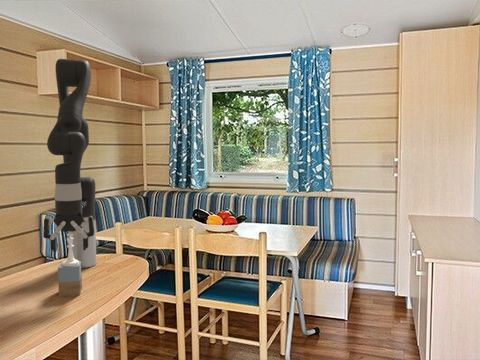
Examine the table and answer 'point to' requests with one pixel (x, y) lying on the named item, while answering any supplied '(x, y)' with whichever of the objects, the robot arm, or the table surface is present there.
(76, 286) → the walnut block
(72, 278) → the slate-blue block
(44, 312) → the table surface
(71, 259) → the chess piece
